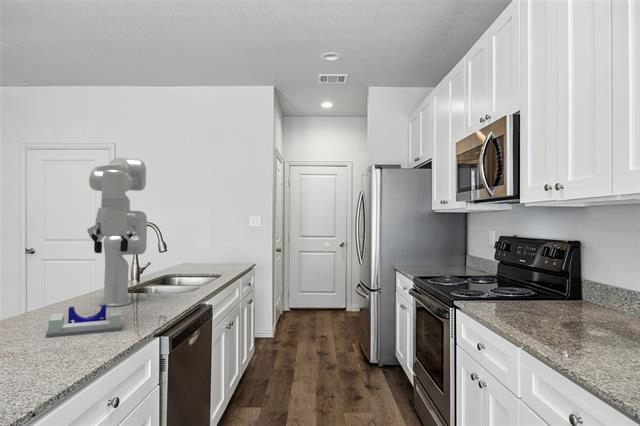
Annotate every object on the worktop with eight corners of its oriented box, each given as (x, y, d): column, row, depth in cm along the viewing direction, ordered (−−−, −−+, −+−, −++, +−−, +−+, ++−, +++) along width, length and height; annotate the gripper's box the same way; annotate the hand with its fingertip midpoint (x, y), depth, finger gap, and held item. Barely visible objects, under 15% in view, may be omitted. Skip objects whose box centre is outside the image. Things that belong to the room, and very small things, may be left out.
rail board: (50, 328, 139) (50, 313, 139) (120, 322, 149) (121, 308, 150) (45, 337, 128) (46, 321, 129) (122, 330, 139) (122, 315, 139)
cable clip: (105, 319, 154) (106, 303, 154) (105, 322, 150) (106, 306, 150) (69, 322, 149) (69, 306, 149) (68, 325, 145) (68, 308, 145)
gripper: (128, 205, 153) (126, 250, 153) (82, 203, 138) (80, 252, 138) (141, 205, 149) (139, 251, 149) (95, 203, 134) (93, 254, 134)
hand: (111, 252), depth 143 cm, fingers open, 9 cm apart
